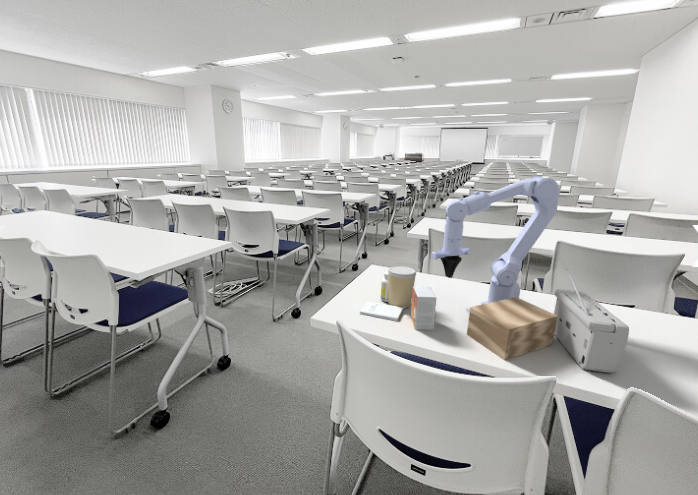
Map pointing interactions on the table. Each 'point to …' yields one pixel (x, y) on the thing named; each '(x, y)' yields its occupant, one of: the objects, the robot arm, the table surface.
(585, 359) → the stereo radio cassette player
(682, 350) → the table surface
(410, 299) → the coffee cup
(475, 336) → the wood grain block
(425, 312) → the small box
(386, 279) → the supplement bottle
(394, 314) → the external hard drive
